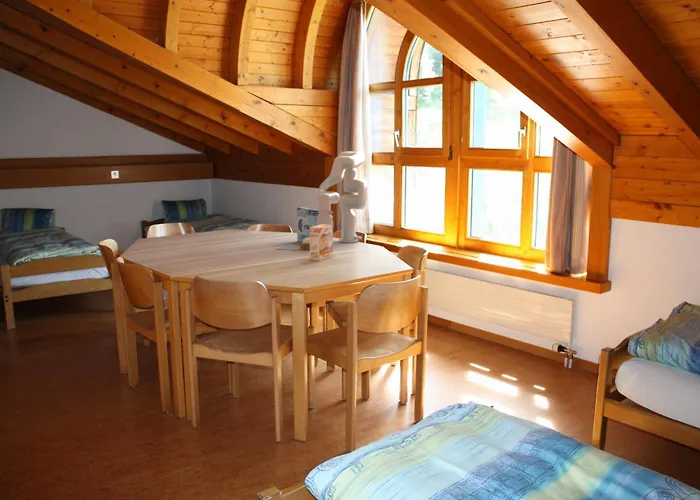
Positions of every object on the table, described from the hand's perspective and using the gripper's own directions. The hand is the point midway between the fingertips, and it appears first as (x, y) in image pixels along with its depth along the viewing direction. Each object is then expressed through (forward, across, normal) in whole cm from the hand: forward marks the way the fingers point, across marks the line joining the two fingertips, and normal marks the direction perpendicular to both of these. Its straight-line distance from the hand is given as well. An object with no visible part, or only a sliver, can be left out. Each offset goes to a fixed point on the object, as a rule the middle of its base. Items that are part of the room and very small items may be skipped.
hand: (324, 241), depth 427 cm
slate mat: (+5, +22, 0) cm, 23 cm away
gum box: (+5, +17, -20) cm, 27 cm away
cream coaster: (0, +9, 0) cm, 9 cm away
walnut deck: (+5, +10, 0) cm, 11 cm away
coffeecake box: (+5, -7, +29) cm, 30 cm away
